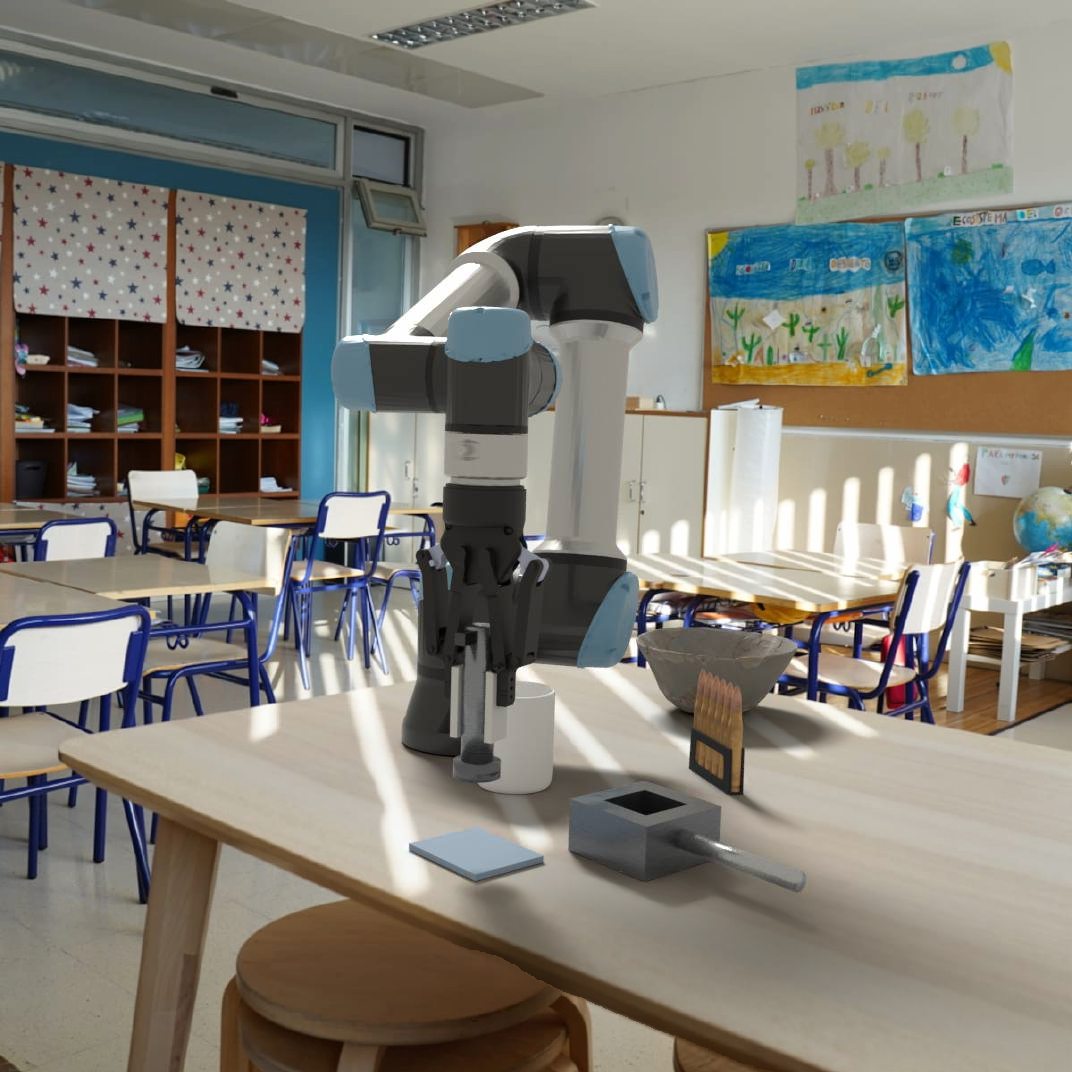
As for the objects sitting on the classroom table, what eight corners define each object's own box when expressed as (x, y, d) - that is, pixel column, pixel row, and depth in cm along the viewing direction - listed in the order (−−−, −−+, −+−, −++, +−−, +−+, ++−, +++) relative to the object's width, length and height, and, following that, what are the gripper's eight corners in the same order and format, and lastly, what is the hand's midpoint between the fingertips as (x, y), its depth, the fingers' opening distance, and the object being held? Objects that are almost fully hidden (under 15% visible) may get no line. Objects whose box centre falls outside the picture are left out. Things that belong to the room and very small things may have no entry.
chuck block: (568, 850, 121) (569, 798, 120) (642, 829, 127) (644, 780, 127) (759, 929, 104) (762, 869, 103) (833, 900, 110) (837, 844, 110)
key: (476, 763, 122) (480, 618, 120) (516, 771, 120) (520, 623, 118) (435, 780, 116) (439, 627, 114) (477, 789, 114) (481, 633, 112)
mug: (521, 762, 150) (524, 672, 149) (565, 791, 139) (568, 694, 138) (453, 768, 147) (455, 677, 146) (491, 799, 136) (494, 700, 135)
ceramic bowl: (796, 699, 188) (799, 632, 187) (790, 737, 166) (794, 661, 165) (646, 687, 193) (649, 622, 192) (621, 723, 171) (624, 649, 170)
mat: (408, 849, 120) (409, 843, 120) (476, 832, 125) (476, 826, 125) (475, 881, 112) (475, 874, 112) (543, 861, 118) (543, 855, 117)
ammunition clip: (744, 794, 140) (749, 687, 139) (728, 795, 140) (733, 687, 139) (702, 767, 150) (707, 667, 149) (688, 768, 150) (692, 667, 149)
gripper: (387, 478, 116) (382, 732, 118) (543, 487, 108) (534, 759, 110) (433, 476, 122) (428, 717, 125) (583, 485, 115) (574, 741, 117)
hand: (478, 736), depth 117 cm, fingers closed on key, 3 cm apart
